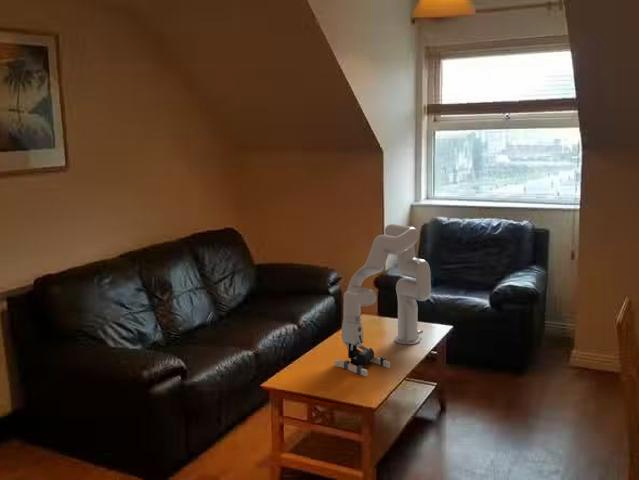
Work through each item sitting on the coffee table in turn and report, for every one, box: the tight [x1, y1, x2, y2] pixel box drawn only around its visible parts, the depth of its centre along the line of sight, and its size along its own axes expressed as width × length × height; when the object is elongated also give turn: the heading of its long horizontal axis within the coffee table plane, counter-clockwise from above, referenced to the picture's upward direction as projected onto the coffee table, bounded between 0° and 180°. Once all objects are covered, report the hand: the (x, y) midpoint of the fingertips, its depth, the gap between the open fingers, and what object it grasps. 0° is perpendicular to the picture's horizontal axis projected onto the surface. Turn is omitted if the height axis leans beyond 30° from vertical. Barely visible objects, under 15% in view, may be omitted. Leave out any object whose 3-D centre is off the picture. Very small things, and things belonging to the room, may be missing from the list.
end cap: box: [349, 344, 375, 367], centre depth 299 cm, size 10×7×7 cm
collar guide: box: [334, 355, 391, 377], centre depth 298 cm, size 18×19×4 cm
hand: (351, 357), depth 303 cm, fingers closed
